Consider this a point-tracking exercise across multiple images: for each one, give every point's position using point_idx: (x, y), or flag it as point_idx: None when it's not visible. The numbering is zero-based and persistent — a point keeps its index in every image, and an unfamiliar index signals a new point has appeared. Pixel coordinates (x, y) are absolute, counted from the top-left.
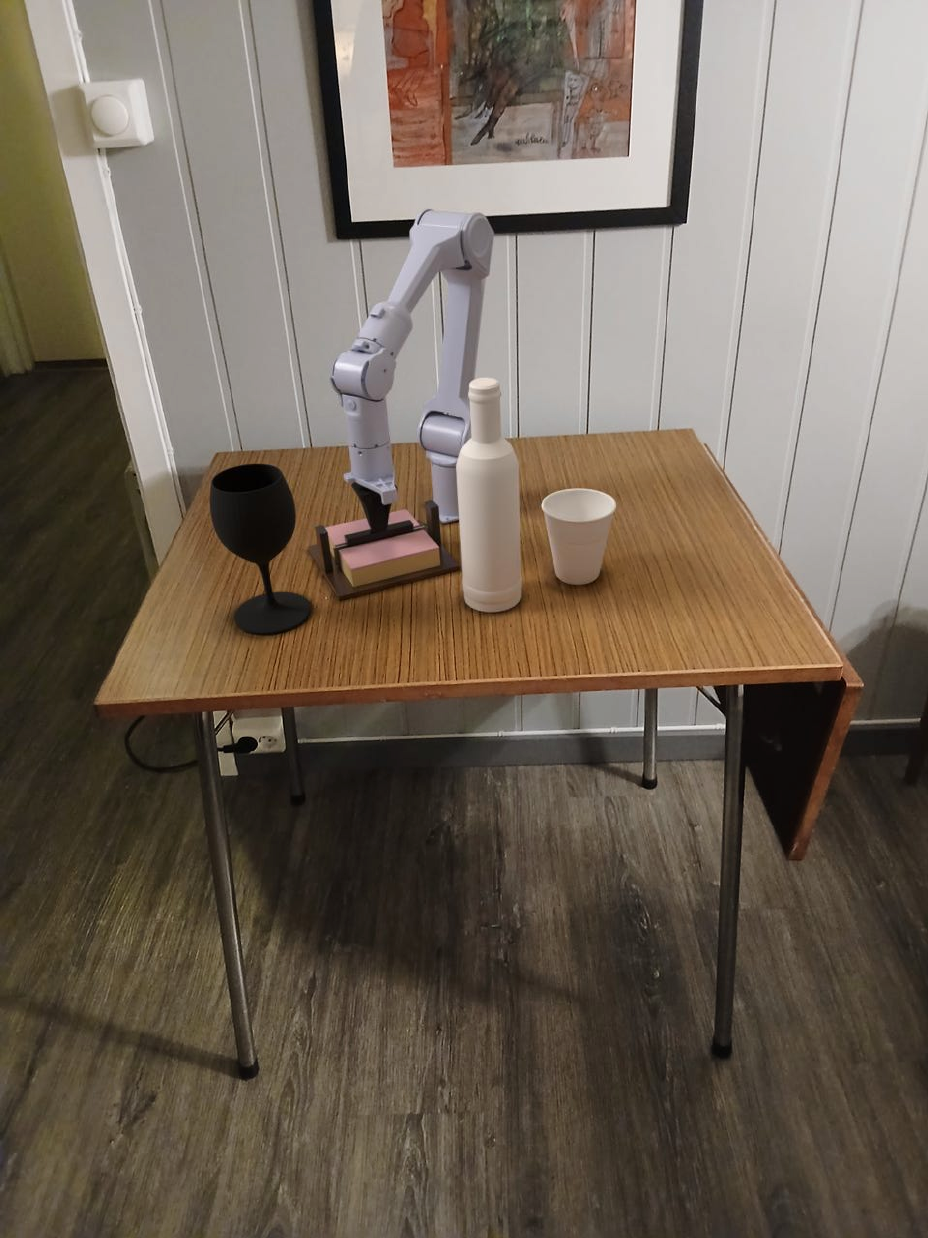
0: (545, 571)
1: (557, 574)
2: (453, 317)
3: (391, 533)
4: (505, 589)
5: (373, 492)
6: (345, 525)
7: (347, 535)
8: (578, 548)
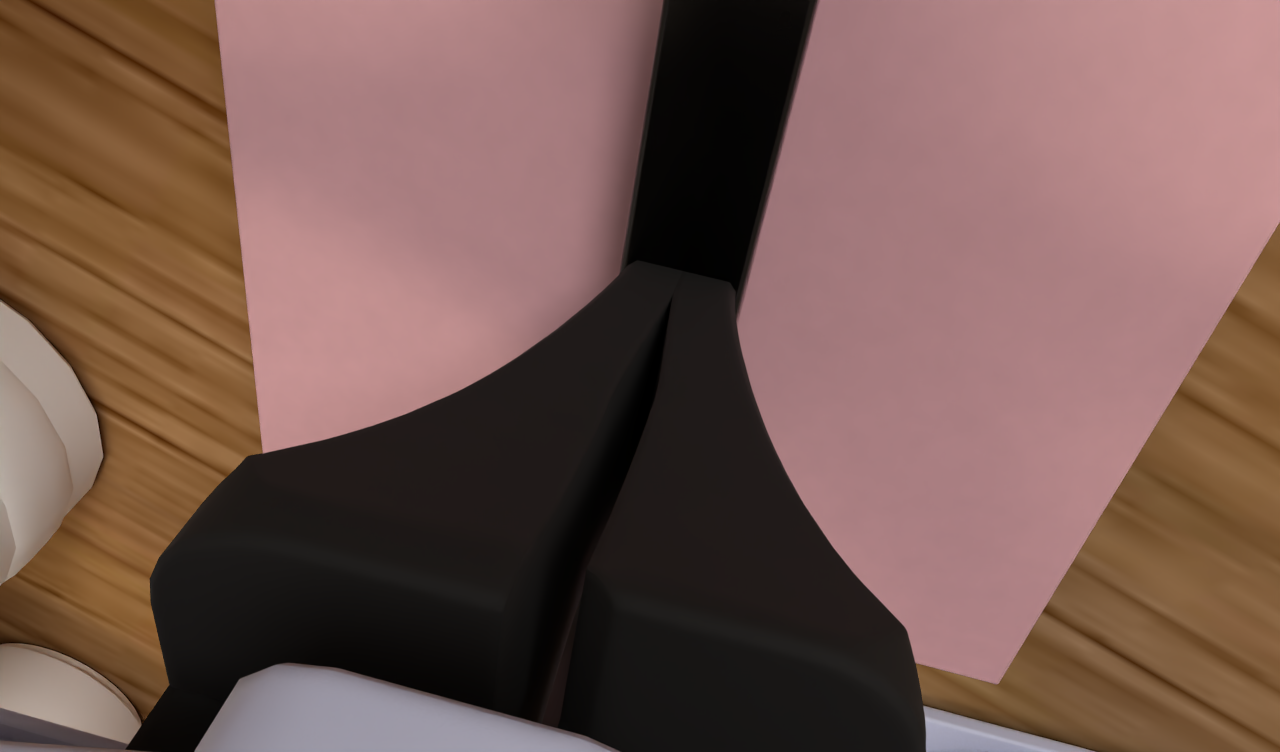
0: (135, 657)
1: (14, 663)
2: None
3: None
4: None
5: (205, 691)
6: (1234, 166)
7: None
8: None
